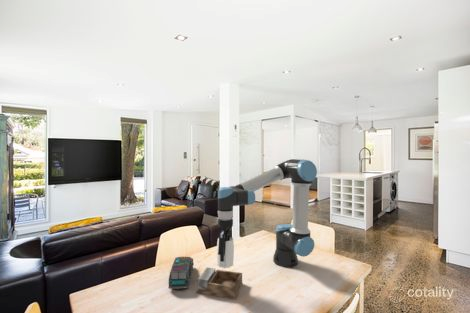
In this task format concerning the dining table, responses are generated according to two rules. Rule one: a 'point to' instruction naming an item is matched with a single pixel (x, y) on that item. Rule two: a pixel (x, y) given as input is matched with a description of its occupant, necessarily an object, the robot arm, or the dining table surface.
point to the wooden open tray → (219, 283)
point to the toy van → (181, 273)
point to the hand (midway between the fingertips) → (225, 262)
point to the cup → (227, 253)
